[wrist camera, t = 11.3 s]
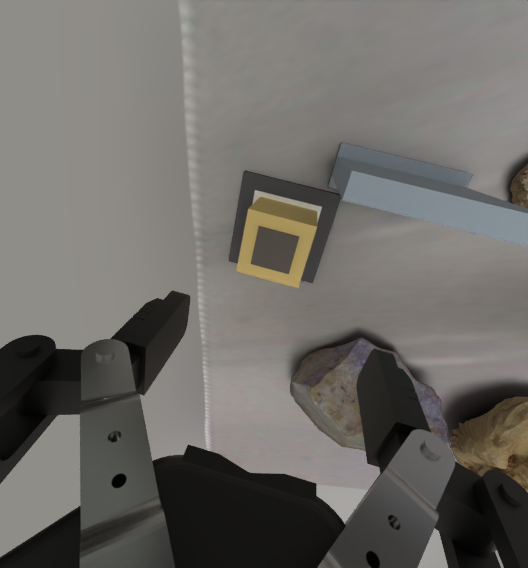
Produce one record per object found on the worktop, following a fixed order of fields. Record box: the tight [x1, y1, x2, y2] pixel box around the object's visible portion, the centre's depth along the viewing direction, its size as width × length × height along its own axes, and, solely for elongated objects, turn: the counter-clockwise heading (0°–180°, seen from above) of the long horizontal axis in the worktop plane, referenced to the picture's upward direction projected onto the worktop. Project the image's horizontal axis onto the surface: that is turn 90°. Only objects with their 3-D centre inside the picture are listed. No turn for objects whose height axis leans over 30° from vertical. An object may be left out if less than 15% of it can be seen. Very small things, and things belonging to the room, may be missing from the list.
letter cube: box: [236, 196, 317, 288], centre depth 29 cm, size 6×6×6 cm
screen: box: [328, 143, 528, 247], centre depth 22 cm, size 4×12×14 cm, turn 78°
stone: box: [290, 337, 448, 451], centre depth 35 cm, size 18×10×15 cm
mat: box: [229, 171, 341, 283], centre depth 32 cm, size 10×10×1 cm
